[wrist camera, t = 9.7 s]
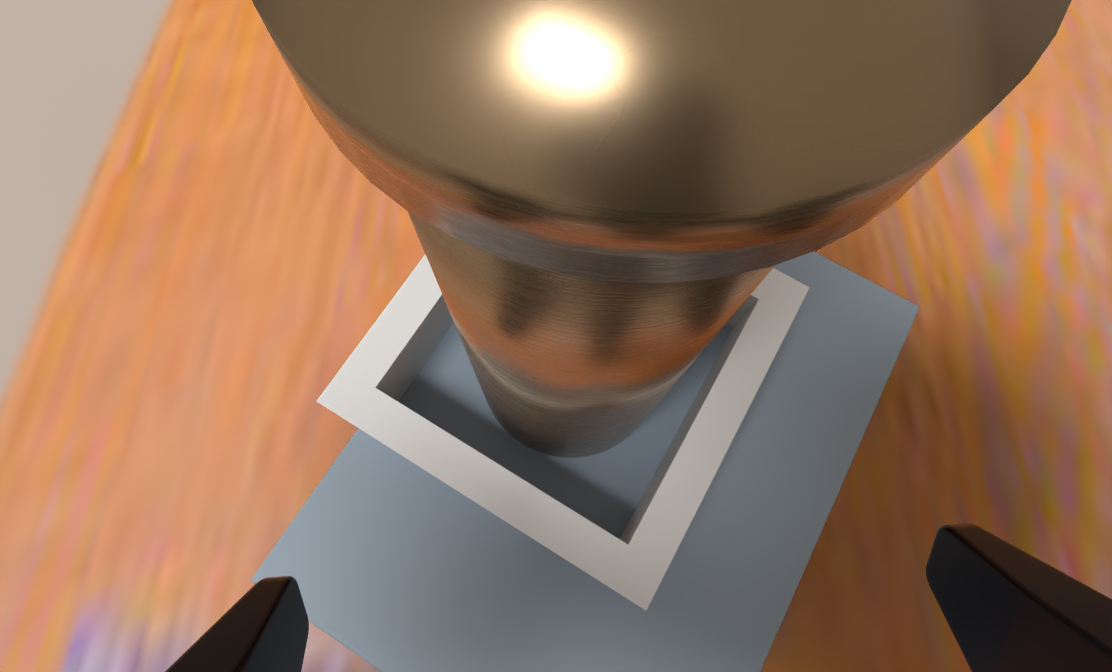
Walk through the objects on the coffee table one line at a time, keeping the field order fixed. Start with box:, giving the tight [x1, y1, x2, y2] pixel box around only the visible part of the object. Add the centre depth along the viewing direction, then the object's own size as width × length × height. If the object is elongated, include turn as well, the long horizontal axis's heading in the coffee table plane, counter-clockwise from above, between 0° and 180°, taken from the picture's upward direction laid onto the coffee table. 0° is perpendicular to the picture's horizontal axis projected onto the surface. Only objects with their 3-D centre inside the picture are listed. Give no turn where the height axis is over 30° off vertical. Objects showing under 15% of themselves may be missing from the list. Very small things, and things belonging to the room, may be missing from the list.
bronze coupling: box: [252, 0, 1071, 458], centre depth 11 cm, size 6×6×14 cm
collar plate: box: [251, 251, 920, 672], centre depth 16 cm, size 16×12×3 cm
